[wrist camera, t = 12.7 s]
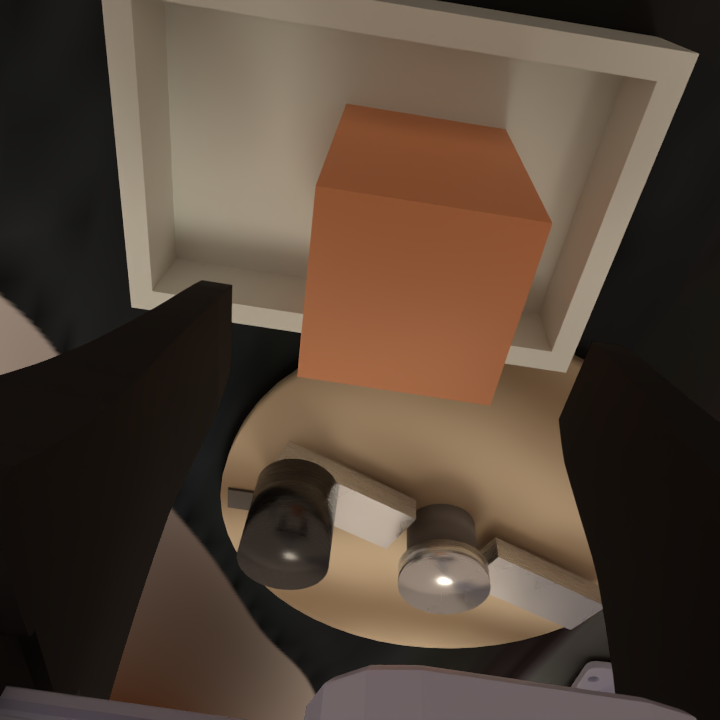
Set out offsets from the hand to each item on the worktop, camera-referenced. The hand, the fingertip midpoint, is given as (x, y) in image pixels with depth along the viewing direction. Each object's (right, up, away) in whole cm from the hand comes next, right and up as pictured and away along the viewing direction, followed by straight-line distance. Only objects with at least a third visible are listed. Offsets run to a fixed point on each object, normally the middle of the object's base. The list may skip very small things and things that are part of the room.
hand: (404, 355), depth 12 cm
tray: (0, +5, +4) cm, 7 cm away
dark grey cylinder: (+2, -7, +11) cm, 13 cm away
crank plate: (+2, -6, +12) cm, 13 cm away
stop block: (0, +4, +4) cm, 6 cm away
